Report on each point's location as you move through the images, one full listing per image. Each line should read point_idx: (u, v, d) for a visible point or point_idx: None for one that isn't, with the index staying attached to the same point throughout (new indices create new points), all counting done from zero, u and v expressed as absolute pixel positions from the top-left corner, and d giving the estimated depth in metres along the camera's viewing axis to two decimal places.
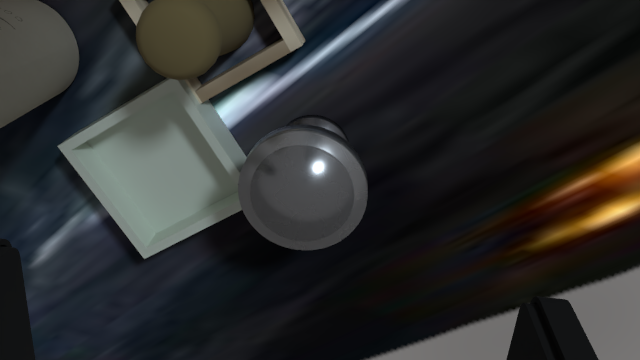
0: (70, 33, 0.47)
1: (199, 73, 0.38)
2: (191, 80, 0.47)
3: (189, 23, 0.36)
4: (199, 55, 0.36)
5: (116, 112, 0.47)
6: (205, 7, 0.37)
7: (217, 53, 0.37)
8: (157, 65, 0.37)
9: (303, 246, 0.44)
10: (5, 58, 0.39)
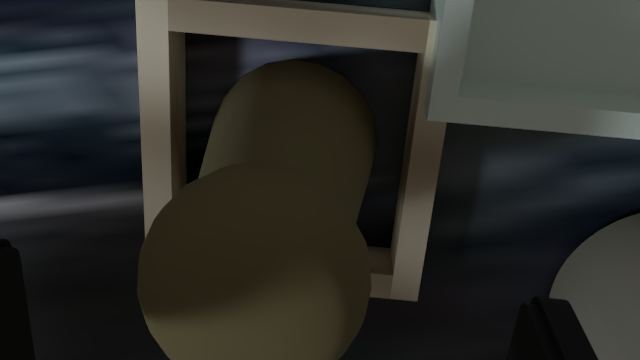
0: (559, 281, 0.23)
1: (245, 197, 0.12)
2: (419, 74, 0.20)
3: (168, 326, 0.13)
4: (195, 250, 0.12)
5: (615, 134, 0.18)
6: None
7: (177, 200, 0.13)
8: (326, 296, 0.12)
9: None
10: None
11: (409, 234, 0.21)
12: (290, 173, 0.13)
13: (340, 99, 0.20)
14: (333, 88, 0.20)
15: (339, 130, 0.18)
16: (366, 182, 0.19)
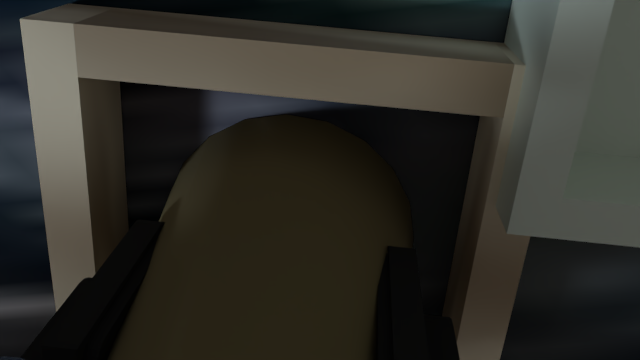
0: None
1: None
2: (489, 148, 0.12)
3: None
4: None
5: None
6: None
7: None
8: None
9: None
10: None
11: None
12: None
13: (358, 187, 0.12)
14: (347, 167, 0.12)
15: (358, 258, 0.10)
16: None
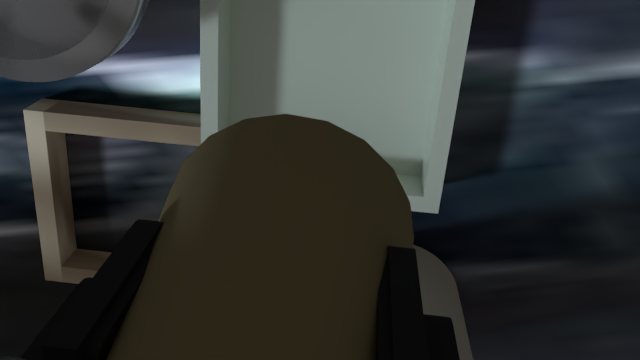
0: None
1: None
2: None
3: None
4: None
5: None
6: None
7: None
8: None
9: None
10: None
11: None
12: None
13: (358, 187, 0.12)
14: (347, 166, 0.12)
15: (358, 257, 0.10)
16: None
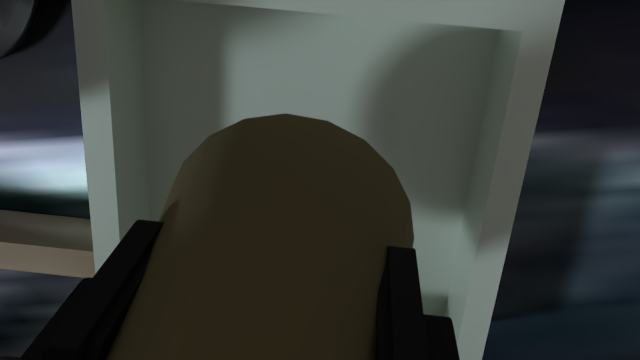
0: None
1: None
2: None
3: None
4: None
5: None
6: None
7: None
8: None
9: None
10: None
11: None
12: None
13: (358, 187, 0.12)
14: (347, 166, 0.12)
15: (358, 257, 0.10)
16: None
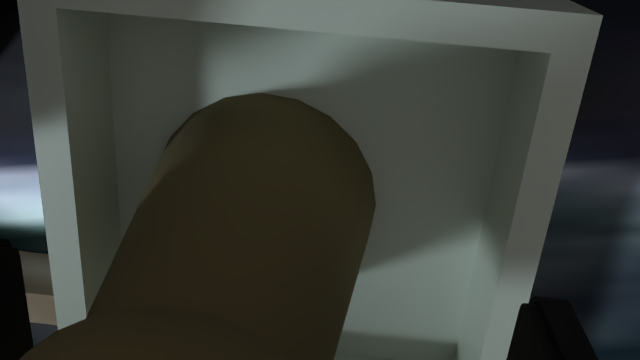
0: None
1: None
2: None
3: None
4: None
5: None
6: None
7: None
8: None
9: None
10: None
11: None
12: (202, 342, 0.07)
13: (321, 154, 0.14)
14: (312, 137, 0.14)
15: (315, 209, 0.12)
16: (356, 273, 0.14)
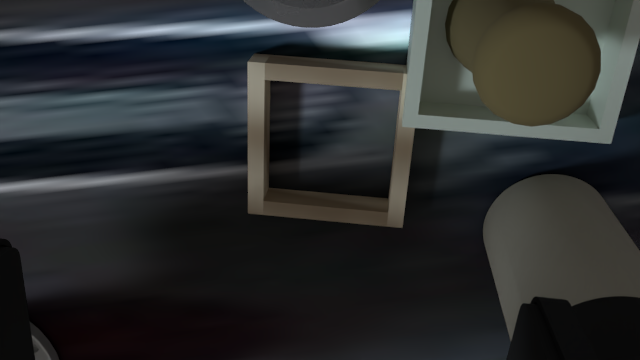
0: (487, 217, 0.39)
1: (547, 11, 0.24)
2: (400, 101, 0.36)
3: (501, 81, 0.25)
4: (524, 37, 0.24)
5: (503, 133, 0.34)
6: (473, 77, 0.26)
7: (504, 18, 0.25)
8: (587, 61, 0.24)
9: None
10: (511, 301, 0.31)
11: (397, 189, 0.38)
12: (560, 5, 0.25)
13: None
14: None
15: (552, 2, 0.30)
16: None
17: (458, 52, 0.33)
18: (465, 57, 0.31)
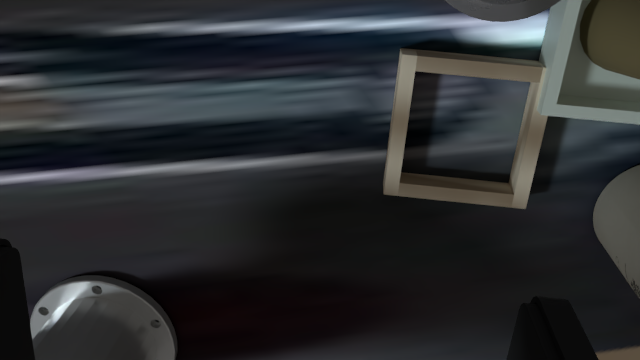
0: (599, 200, 0.44)
1: None
2: (534, 92, 0.40)
3: None
4: None
5: (631, 122, 0.39)
6: None
7: None
8: None
9: None
10: None
11: (524, 172, 0.42)
12: None
13: None
14: None
15: None
16: None
17: (600, 48, 0.37)
18: (613, 52, 0.35)
